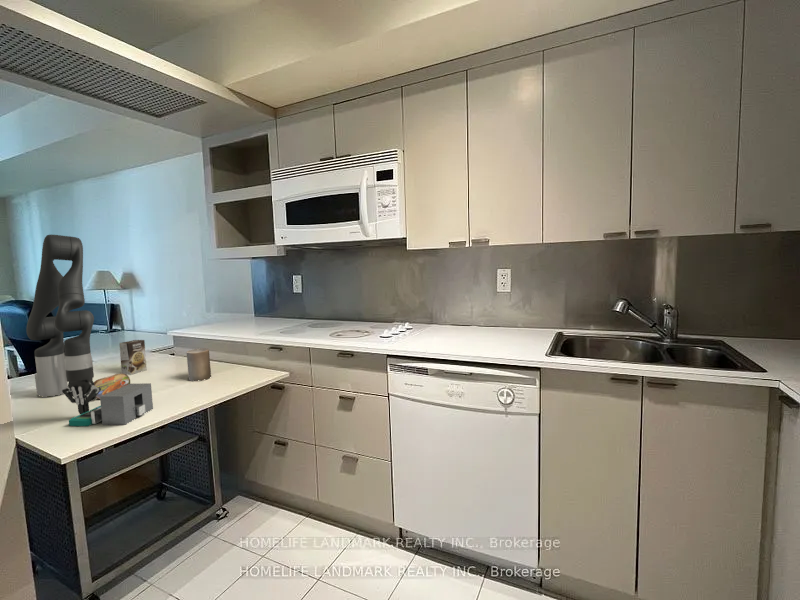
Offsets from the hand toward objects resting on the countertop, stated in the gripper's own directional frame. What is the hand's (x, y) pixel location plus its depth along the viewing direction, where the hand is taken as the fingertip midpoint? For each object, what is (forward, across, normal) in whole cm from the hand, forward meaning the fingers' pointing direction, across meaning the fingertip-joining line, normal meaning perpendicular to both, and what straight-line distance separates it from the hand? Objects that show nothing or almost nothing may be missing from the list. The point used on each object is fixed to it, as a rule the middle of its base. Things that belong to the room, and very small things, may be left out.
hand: (84, 413), depth 138 cm
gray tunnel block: (+1, -16, 0) cm, 17 cm away
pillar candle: (+2, -16, -46) cm, 49 cm away
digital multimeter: (+2, -5, +1) cm, 5 cm away
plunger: (+1, -15, -4) cm, 16 cm away
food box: (+2, +25, -58) cm, 63 cm away
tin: (+2, +8, -23) cm, 25 cm away
